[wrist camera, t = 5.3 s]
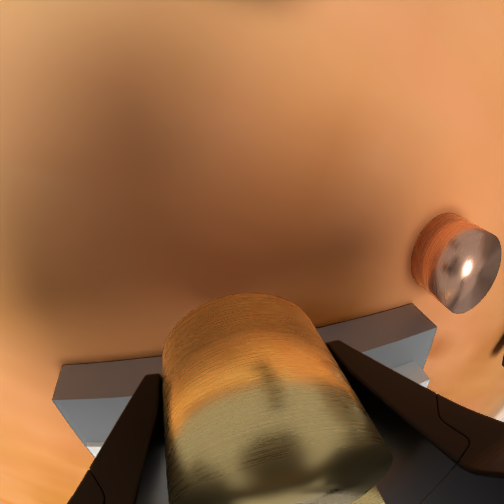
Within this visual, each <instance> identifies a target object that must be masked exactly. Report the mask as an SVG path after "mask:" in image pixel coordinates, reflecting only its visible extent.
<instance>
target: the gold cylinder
mask: <svg viewBox="0 0 504 504" xmlns="http://www.w3.org/2000/svg"><path fill="white" fill-rule="evenodd" d="M162 394H163V426H164V446H165V462H166V475H167V487H168V498H169V504H351V503H352V502H354V501H356V500H357V499H359V498H360V497H361V496H363V495H364V494H366V493H367V492H368V491H369V490H371V489H372V488H373V487H374V486H375V485H376V484H377V483H378V482H379V481H380V480H381V479H382V478H383V477H384V476H385V475H386V473H387V472H388V470H389V468H390V466H391V464H392V460H393V456H392V453H391V451H390V450H389V448H388V446H387V445H386V443H385V441H384V440H383V438H382V436H381V435H380V433H379V431H378V430H377V428H376V426H375V425H374V423H373V421H372V420H371V418H370V416H369V415H368V413H367V411H366V410H365V408H364V407H363V405H362V403H361V402H360V400H359V398H358V397H357V395H356V393H355V392H354V390H353V388H352V387H351V385H350V384H349V382H348V380H347V379H346V377H345V375H344V374H343V372H342V371H341V369H340V367H339V366H338V364H337V362H336V361H335V359H334V357H333V356H332V354H331V353H330V351H329V349H328V348H327V346H326V345H325V343H324V341H323V340H322V338H321V336H320V335H319V333H318V332H317V330H316V328H315V327H314V325H313V324H312V322H311V320H310V319H309V317H308V316H307V315H306V314H305V312H304V311H303V310H302V309H300V308H299V307H298V306H297V305H295V304H293V303H291V302H290V301H288V300H285V299H283V298H280V297H277V296H273V295H269V294H261V293H242V294H234V295H229V296H225V297H221V298H218V299H215V300H212V301H210V302H208V303H205V304H203V305H201V306H199V307H198V308H196V309H194V310H193V311H191V312H190V313H189V314H187V315H186V316H185V317H184V318H182V319H181V320H180V321H179V322H178V323H177V325H176V326H175V327H174V328H173V330H172V331H171V332H170V334H169V336H168V338H167V340H166V342H165V345H164V348H163V355H162Z"/></svg>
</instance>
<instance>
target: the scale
mask: <svg viewBox="0 0 504 504" xmlns="http://www.w3.org/2000/svg"><path fill="white" fill-rule="evenodd" d="M436 329H437V326H436V325H435V324H434V323H433V322H432V321H431V320H430V319H428V318H427V317H426V316H425V315H424V314H423V313H422V312H421V311H420V310H419V309H418V308H417V307H416V306H415V305H414V304H413V303H412V304H409V305H406V306H402V307H399V308H395V309H392V310H388V311H384V312H381V313H377V314H373V315H369V316H366V317H362V318H358V319H354V320H350V321H346V322H342V323H338V324H334V325H329V326H325V327H321V328H316V330H317V332H318V333H319V335H320V336H321V338H322V340H323V341H324V343H326V342H329V341H334V340H340V341H342V342H344V343H345V344H347V345H349V346H351V347H353V348H354V349H356V350H358V351H360V352H361V353H363V354H365V355H367V356H369V357H370V358H372V359H374V360H376V361H378V362H380V363H381V364H383V365H385V366H387V367H389V368H390V369H392V370H394V371H396V372H398V373H400V374H401V375H403V376H405V377H407V378H409V379H411V380H413V381H414V382H416V383H418V384H420V385H422V386H424V387H426V388H427V386H428V383H429V381H430V378H429V377H428V376H427V375H426V374H425V372H424V371H423V368H424V365H425V362H426V359H427V356H428V354H429V351H430V348H431V345H432V342H433V339H434V336H435V333H436ZM152 373H160V374H161V375H162V356H157V357H149V358H141V359H132V360H122V361H112V362H101V363H89V364H75V365H62V368H61V371H60V374H59V378H58V381H57V384H56V388H55V391H54V395H53V398H52V401H53V402H54V404H55V405H56V407H57V408H58V410H59V411H60V413H61V414H62V415H63V417H64V418H65V420H66V421H67V423H68V424H69V425H70V427H71V428H72V429H73V431H74V432H75V433H76V435H77V436H78V437H79V439H80V440H81V441H82V443H83V444H84V445H85V446H86V448H87V449H88V450H89V451H90V453H91V454H92V455H93V456H94V458H95V457H96V456H97V454H98V452H99V451H100V449H101V447H102V445H103V444H104V442H105V440H106V439H107V437H108V435H109V434H110V432H111V430H112V429H113V427H114V425H115V424H116V422H117V420H118V418H119V417H120V415H121V413H122V412H123V410H124V409H125V407H126V405H127V404H128V402H129V400H130V399H131V397H132V395H133V394H134V392H135V390H136V389H137V387H138V385H139V384H140V382H141V381H142V379H143V377H144V376H145V375H146V374H152Z"/></svg>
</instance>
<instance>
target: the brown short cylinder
mask: <svg viewBox="0 0 504 504" xmlns="http://www.w3.org/2000/svg"><path fill="white" fill-rule="evenodd" d="M500 262H501V245H500V242H499V240H498V238H497V237H496V236H495V235H493V234H491V233H490V232H488V231H486V230H484V229H482V228H480V227H479V226H477V225H475V224H473V223H471V222H469V221H467V220H465V219H463V218H461V217H459V216H457V215H455V214H452V213H446V214H442V215H439V216H438V217H436V218H434V219H433V220H432V221H431V222H430V223H429V224H428V225H427V226H426V227H425V228H424V230H423V231H422V232H421V234H420V236H419V237H418V240H417V242H416V244H415V246H414V250H413V253H412V259H411V270H412V275H413V277H414V279H415V281H416V282H417V283H418V284H420V285H421V286H422V287H423V288H424V289H425V290H427V291H428V292H429V293H430V294H431V295H433V296H434V297H435V298H436V299H437V300H438V301H440V302H441V303H442V304H443V305H444V306H445V307H446V308H448V309H449V310H450V311H451V312H453V313H456V314H460V313H464V312H467V311H469V310H470V309H472V308H473V307H475V306H476V305H477V304H478V303H479V302H480V301H481V300H482V299H483V298H484V296H485V295H486V294H487V292H488V291H489V289H490V288H491V286H492V284H493V282H494V280H495V278H496V276H497V273H498V270H499V267H500Z"/></svg>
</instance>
